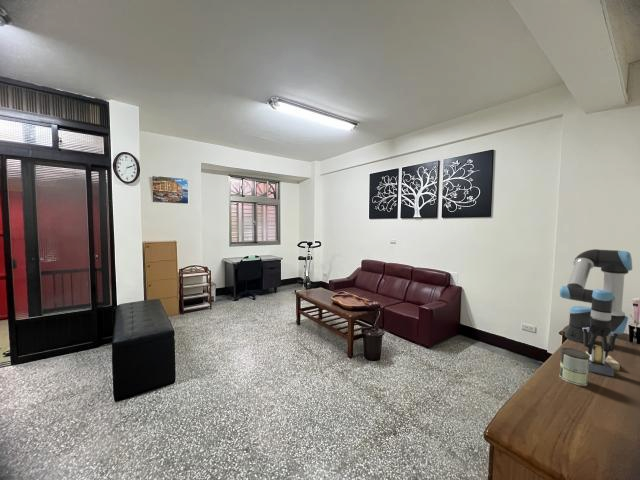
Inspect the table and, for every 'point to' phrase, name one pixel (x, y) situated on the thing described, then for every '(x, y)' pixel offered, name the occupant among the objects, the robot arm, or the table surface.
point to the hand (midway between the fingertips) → (596, 361)
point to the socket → (601, 368)
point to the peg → (597, 354)
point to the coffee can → (574, 366)
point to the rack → (611, 362)
